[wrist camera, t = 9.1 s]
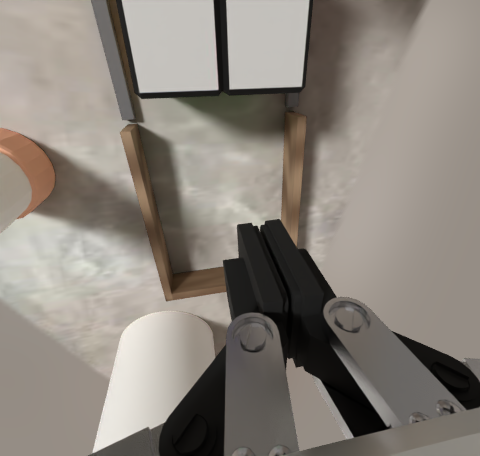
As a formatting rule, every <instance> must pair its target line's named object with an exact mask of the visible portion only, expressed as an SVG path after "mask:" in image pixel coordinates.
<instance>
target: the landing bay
mask: <svg viewBox="0 0 480 456" xmlns="http://www.w3.org/2000/svg"><path fill="white" fill-rule="evenodd" d="M91 2H92V6H93V10H94V14H95V18H96V21H97V25H98V29H99V33H100V37H101V40H102V44H103V48H104V52H105V56H106V60H107V63H108V67H109V71H110V75H111V79H112V82H113V86H114V90H115V94H116V98H117V101H118V105H119V109H120V113H121V117H122V120H131V119H135V118H136V117H135V113H134V108H133V104H132V100H131V96H130V91H129V87H128V83H127V79H126V75H125V70H124V66H123V62H122V58H121V54H120V49H119V45H118V41H117V37H116V32H115V28H114V24H113V20H112V16H111V11H110V7H109V3H108V0H91ZM298 101H299V93H286V101H285V106H286V107H297V106H298Z"/></svg>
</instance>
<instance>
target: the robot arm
mask: <svg viewBox="0 0 480 456" xmlns="http://www.w3.org/2000/svg"><path fill="white" fill-rule="evenodd" d="M237 234H238V251H239V258H236V259H229V260H223V266H224V276H225V284H226V291H227V297H228V302H229V308H230V314H231V319H232V322H231V324H230V325H229V327H228V330H227V335H226V345H225V347H224V348H223V349H222V350H221V352H220V353H219V354H218V355H217V357H216V358H215V359H214V360H213V362H212V363H211V364H210V365H209V367H208V368H207V369H206V370H205V372H204V373H203V374H202V375H201V377H200V378H199V379H198V380H197V382H196V383H195V384H194V385H193V387H192V388H191V389H190V390H189V392H188V393H187V394H186V395H185V397H184V398H183V399H182V400H181V402H180V403H179V404H178V405H177V407H176V408H175V409H174V410H173V412H172V413H171V414H170V415H169V417H168V419H167V420H166V422H165V423H163V424H160V425H158V426H156V427H154V428H152V429H149V427H146V428H144V429H142V430H140V431H138V432H136V433H134V434H132V435H130V436H128V437H126V438H124V439H122V440H119V441H117V442H115V443H113V444H111V445H109V446H107V447H105V448H103V449H101V450H99V451H97V452H95V453H92V454H90V455H88V456H480V359H470V358H464V359H463V360H462V362H460V361H458V360H456V359H454V358H453V357H451V356H449V355H447V354H444V353H442V352H439V351H437V350H435V349H433V348H430V347H428V346H426V345H423V344H421V343H419V342H416V341H414V340H412V339H409V338H407V337H405V336H402V335H400V334H397V333H395V332H393V331H391V330H390V329H389V328H388V327H387V326H386V325H385V324H384V323H383V322H382V321H381V320H380V319H379V318H378V317H377V316H376V315H375V313H374V312H373V311H372V310H371V309H370V308H368V307H367V306H366V305H365V304H363V303H361V302H360V301H358V300H356V299H352V298H349V297H338V298H337V297H336V295H335V294H334V292H333V291H332V289H331V287H330V286H329V284H328V283H327V281H326V280H325V278H324V277H323V275H322V273H321V272H320V270H319V269H318V267H317V266H316V264H315V262H314V261H313V259H312V258H311V256H310V255H309V253H308V252H307V250H306V249H297V247H296V245H295V244H294V242H293V240H292V239H291V237H290V235H289V234H288V232H287V230H286V228H285V227H284V225H283V223H282V222H281V220H280V219H277V220H269V221H265V225H261V227H260V231H259V229H258V226H253V225H252V223H246V224H239V225H237ZM287 358H289V359H290V358H293V360H294V363H295V366H296V367H301V366H303V367H304V369H305V371H306V372H308V373H310V374H312V375H313V379H314V382H315V384H316V386H317V388H318V390H319V391H320V393H321V395H322V397H323V398H324V400H325V402H326V404H327V406H328V407H329V409H330V411H331V413H332V415H333V416H334V418H335V420H336V422H337V424H338V425H339V427H340V429H341V431H342V432H343V434H344V436H345V438H346V440H343V441H339V442H335V443H331V444H327V445H323V446H319V447H315V448H311V449H307V450H303V451H299V447H298V441H297V435H296V429H295V423H294V418H293V412H292V406H291V400H290V394H289V388H288V383H287V377H286V363H287Z"/></svg>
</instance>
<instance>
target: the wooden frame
mask: <svg viewBox="0 0 480 456" xmlns="http://www.w3.org/2000/svg"><path fill="white" fill-rule="evenodd" d="M306 119H307V117H306V116H304V115H301V114H299V113H296V112H294V111H289V112H285V129H284V157H283V184H282V212H281V222H282V223H283V225H284V227H285V228H286V230H287V232H288V234H289V235H290V237H291V239H292V240H293V242H294V244H295V245H296V247H297V237H298V224H299V211H300V198H301V185H302V172H303V158H304V145H305V132H306ZM120 134H121V138H122V142H123V145H124V149H125V153H126V156H127V160H128V164H129V167H130V171H131V175H132V178H133V182H134V186H135V189H136V193H137V197H138V200H139V204H140V208H141V211H142V215H143V219H144V222H145V226H146V230H147V233H148V237H149V241H150V244H151V248H152V252H153V255H154V259H155V262H156V266H157V270H158V273H159V277H160V281H161V284H162V288H163V292H164V295H165V299H166V301H171V300H177V299H184V298H190V297H196V296H202V295H209V294H215V293H221V292H227V291H226V284H225V276H224V267H218V268H211V269H204V270H198V271H191V272H184V273H178V274H173V273H172V269H171V264H170V260H169V256H168V252H167V247H166V243H165V239H164V235H163V231H162V226H161V222H160V218H159V214H158V210H157V205H156V201H155V197H154V193H153V188H152V184H151V180H150V176H149V172H148V167H147V163H146V159H145V155H144V151H143V146H142V142H141V138H140V134H139V129H138V125H137V124H128V125H127V126H126V127H125V128H124V129H123V130H122V131H121V132H120Z"/></svg>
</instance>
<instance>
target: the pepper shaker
mask: <svg viewBox="0 0 480 456" xmlns="http://www.w3.org/2000/svg"><path fill="white" fill-rule="evenodd" d="M54 186H55V172H54V169H53V165H52V163H51V162H50V160H49V158H48V157H47V155H46V154H45V152H44V151H43V150H42V149H40V148H39V147H38V146H37V145H36V144H35V143H34V142H33V141H31V140H29V139H28V138H26V137H24V136H23V135H21V134H19V133H16V132H13V131H10V130H7V129H3V128H0V233H1V232H3V231H4V230H5V229H6V228H7V227H8V226H9V225H11V224H12V223H13V222H14V221H15V220H16V219H19V218H23V217H25V216H26V215H27V214H29V213H30V212H32V211H33V210H34V209H35V208H36V207H37V206H38V205H40V204H41V203H42V202H43V201H44V200H45V199H46V198H47V197H48V196H49V195H50V194H51V192H52V190H53V188H54Z"/></svg>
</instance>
